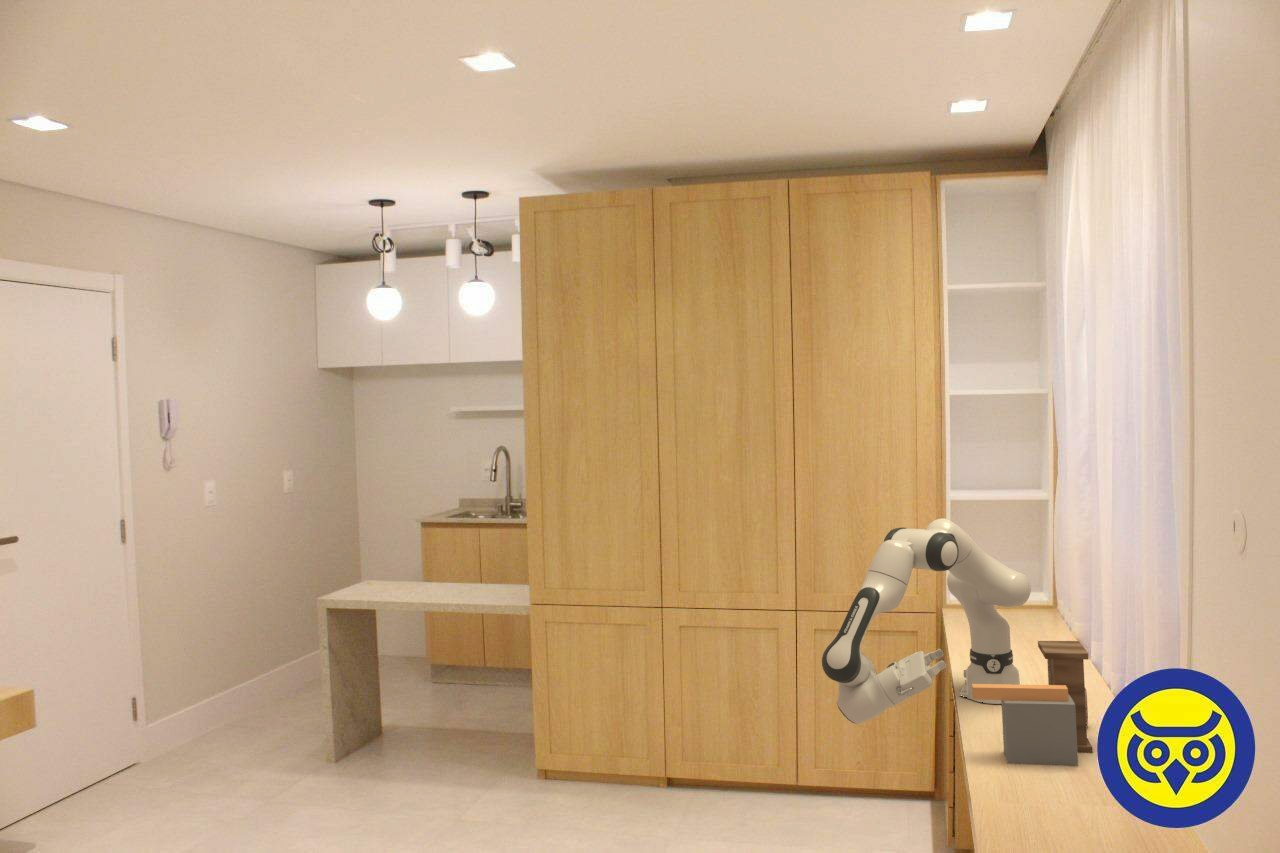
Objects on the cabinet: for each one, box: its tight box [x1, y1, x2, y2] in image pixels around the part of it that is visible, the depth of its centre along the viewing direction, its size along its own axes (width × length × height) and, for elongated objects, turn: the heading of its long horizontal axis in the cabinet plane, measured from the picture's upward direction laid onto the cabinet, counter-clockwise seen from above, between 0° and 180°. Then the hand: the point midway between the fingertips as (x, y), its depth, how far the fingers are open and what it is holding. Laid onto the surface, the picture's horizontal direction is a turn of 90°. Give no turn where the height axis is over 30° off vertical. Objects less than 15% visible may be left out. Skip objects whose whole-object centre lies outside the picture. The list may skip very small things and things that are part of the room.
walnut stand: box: [1037, 640, 1094, 754], centre depth 248 cm, size 12×10×25 cm
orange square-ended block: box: [972, 684, 1068, 701], centre depth 240 cm, size 3×22×3 cm, turn 76°
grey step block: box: [1001, 694, 1079, 767], centre depth 240 cm, size 8×16×15 cm, turn 76°
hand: (943, 657), depth 246 cm, fingers open, 8 cm apart
